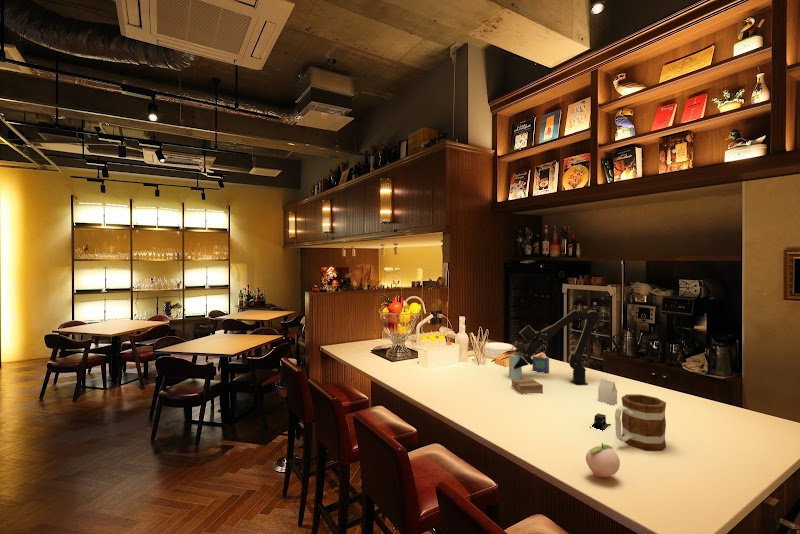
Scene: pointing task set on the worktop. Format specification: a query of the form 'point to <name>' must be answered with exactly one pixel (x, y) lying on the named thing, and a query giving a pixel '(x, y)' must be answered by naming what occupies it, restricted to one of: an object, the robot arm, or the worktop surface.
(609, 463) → the decorative fruit
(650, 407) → the mug
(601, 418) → the black flanged block
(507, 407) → the worktop surface
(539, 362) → the flask
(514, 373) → the tall block
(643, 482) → the worktop surface
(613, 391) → the paper bag
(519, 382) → the base brick
